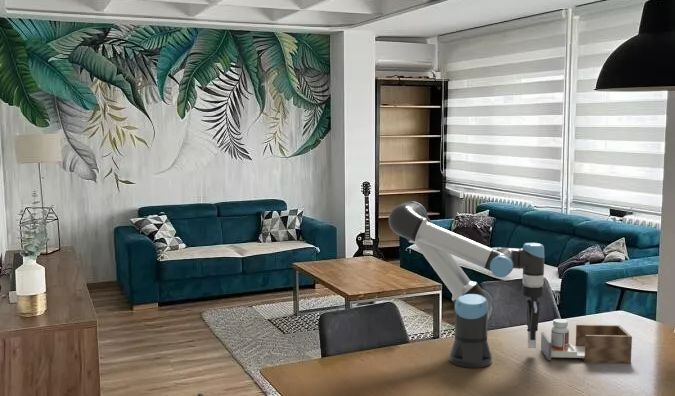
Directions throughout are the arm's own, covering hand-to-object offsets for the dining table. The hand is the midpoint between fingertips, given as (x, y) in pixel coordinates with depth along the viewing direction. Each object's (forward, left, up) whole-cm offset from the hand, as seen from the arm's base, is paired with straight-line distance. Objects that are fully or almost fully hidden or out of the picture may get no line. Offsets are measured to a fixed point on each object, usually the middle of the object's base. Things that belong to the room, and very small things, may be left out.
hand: (531, 347), depth 265 cm
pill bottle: (+10, 0, -1) cm, 10 cm away
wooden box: (+26, 0, -3) cm, 26 cm away
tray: (+13, 0, -3) cm, 13 cm away
